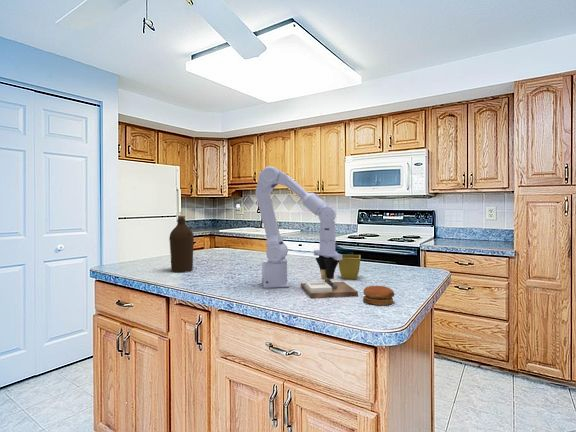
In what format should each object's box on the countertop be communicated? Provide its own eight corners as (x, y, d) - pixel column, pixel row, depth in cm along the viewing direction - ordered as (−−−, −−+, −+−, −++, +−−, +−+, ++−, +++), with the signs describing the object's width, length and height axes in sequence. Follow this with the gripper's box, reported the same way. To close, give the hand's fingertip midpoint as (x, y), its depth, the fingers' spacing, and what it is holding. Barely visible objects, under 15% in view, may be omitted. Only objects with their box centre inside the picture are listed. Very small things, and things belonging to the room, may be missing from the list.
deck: (310, 298, 115) (310, 293, 115) (301, 287, 130) (301, 283, 130) (357, 296, 118) (357, 291, 118) (343, 285, 133) (343, 281, 133)
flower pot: (360, 280, 142) (360, 258, 141) (338, 279, 143) (338, 257, 143) (360, 276, 150) (360, 254, 150) (339, 275, 152) (339, 254, 152)
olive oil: (196, 268, 169) (196, 215, 168) (189, 273, 158) (189, 216, 157) (174, 268, 169) (174, 215, 168) (166, 272, 158) (165, 216, 158)
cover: (311, 292, 116) (311, 287, 116) (304, 285, 126) (304, 280, 126) (332, 291, 117) (332, 286, 117) (324, 285, 127) (324, 279, 127)
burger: (387, 308, 105) (387, 292, 105) (357, 303, 110) (357, 288, 110) (398, 300, 113) (398, 286, 113) (370, 296, 118) (370, 282, 118)
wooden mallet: (328, 289, 121) (328, 274, 121) (320, 282, 131) (320, 269, 131) (341, 288, 122) (341, 274, 121) (332, 282, 131) (332, 268, 131)
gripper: (349, 241, 125) (348, 279, 126) (324, 238, 138) (324, 273, 138) (333, 242, 122) (333, 282, 122) (309, 239, 134) (309, 274, 135)
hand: (327, 277), depth 130 cm, fingers closed on wooden mallet, 3 cm apart
